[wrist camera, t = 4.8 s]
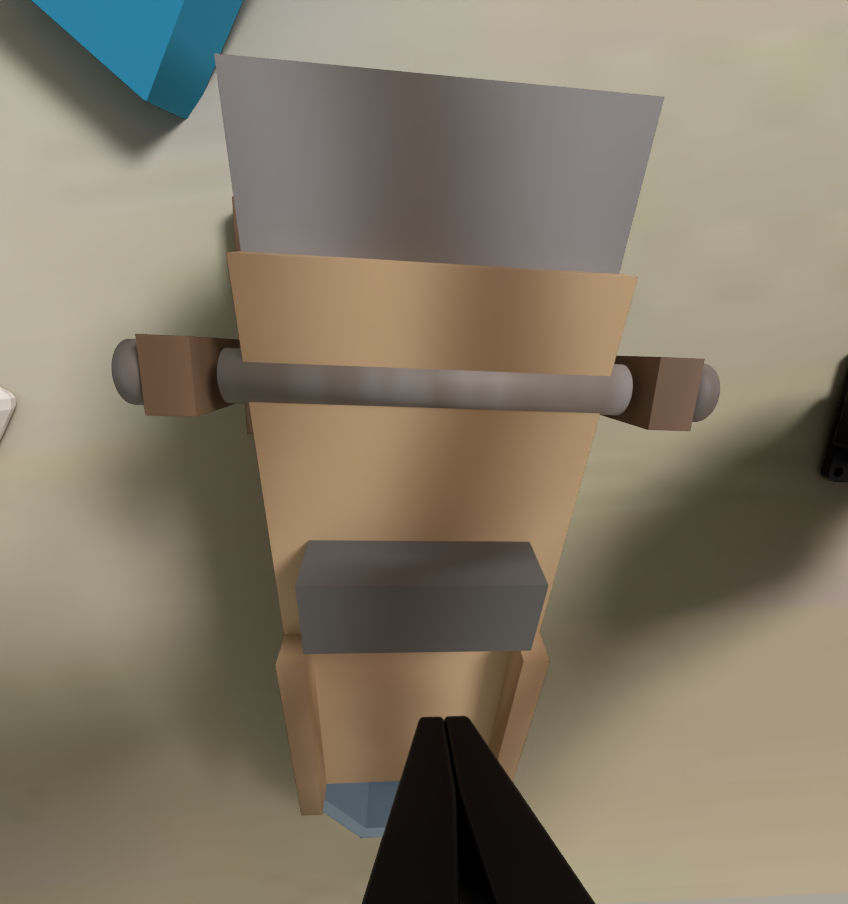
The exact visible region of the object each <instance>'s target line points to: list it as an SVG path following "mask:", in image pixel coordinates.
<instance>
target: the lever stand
mask: <svg viewBox="0 0 848 904" xmlns="http://www.w3.org/2000/svg"><path fill="white" fill-rule="evenodd" d="M232 202H233V218H234V233H235V249H236V252H237V251H241V248H240V241H239V233H238V226H237V218H236V211H235V204H234V197H233V196H232ZM135 336H136V339H126V340H123V341H121V342H120V343H119V344H118V345H117V347H116V349H115V351H114V354H113V358H112V376H113V381H114V384H115V387H116V389H117V391H118V393H119V394H120V396H121V397H122V398H123V399H124V400H125V401H126V402H128V403H130V404H134V405H144V409H145V415H155V416H190V417H197V416H200V415H203V414H206V413H209V412H212V411H215V410H218V409H221V408H224V407H227V406H230V405H233V404H236V403H227V402H226V401H225V400H224V399H223V398H222V396H221V393H220V390H219V386H218V381H217V364H218V359H219V355H220V353H221V351H222V350H223V349H224V348H241V347H240V340H236V339H221V338H206V337H191V336H170V335H147V334H135ZM704 360H705V359H694V358H671V357H639V356H616V359H615V362H614V364H621V365H625V366H627V367H628V369H629V370H630V372H631V375H632V381H633V389H632V396H631V399H630V402H629V404H628V406H627V408H626V409H625V411H624V412H623V413H621V414H620V415H602V416H606V417H609V418H612V419H615V420H618V421H622V422H625V423H628V424H631V425H634V426H638V427H641V428H644V429H647V430H670V431H690V430H691V425H692V422H698V421H701V420H703V419H705V418H707V417H708V416H709V415H710V414H711V413H712V411H713V410H714V408H715V406H716V404H717V402H718V399H719V394H720V381H719V377H718V375H717V373H716V371H715V370H714V369H713V368H712V367H711V366H709V365H707V364H704ZM245 406H246V422H247V434H254V433H253V426H252V419H251V413H250V406H249V404H245Z"/></svg>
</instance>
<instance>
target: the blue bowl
mask: <svg viewBox="0 0 848 904" xmlns="http://www.w3.org/2000/svg"><path fill="white" fill-rule="evenodd" d="M399 782H400V781H385V782H360V783H334V784H326V792H325V799H324V807H323V812H324V813H326V814H327V815H328V816H330V817H331V818H333V819H334V820H336V821H337V822H339V823H340V824H342V825H343V826H344V827H346V828H347V829H349V830H350V831H352V832H353V833H355V834H356V835H358V836H359V837H360V838H367V837H383V834H384V830H385V827H386V824H387V821H388V817H389V814H390V811H391V808H392V805H393V801H394V798H395V795H396V792H397V788H398V785H399Z"/></svg>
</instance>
